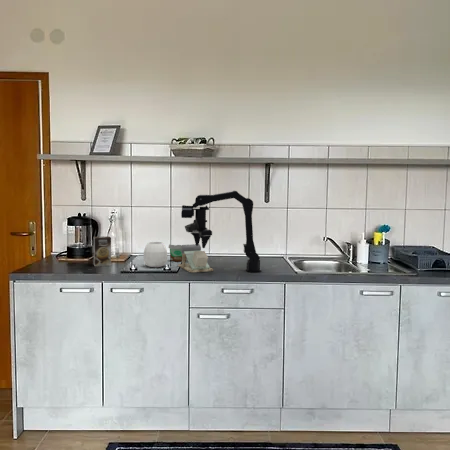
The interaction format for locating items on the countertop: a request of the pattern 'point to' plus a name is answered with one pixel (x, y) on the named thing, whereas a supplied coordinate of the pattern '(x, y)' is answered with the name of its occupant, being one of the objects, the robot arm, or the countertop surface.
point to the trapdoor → (189, 255)
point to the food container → (175, 253)
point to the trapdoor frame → (188, 267)
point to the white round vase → (155, 254)
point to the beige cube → (200, 258)
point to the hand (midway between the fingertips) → (200, 246)
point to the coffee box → (102, 251)
